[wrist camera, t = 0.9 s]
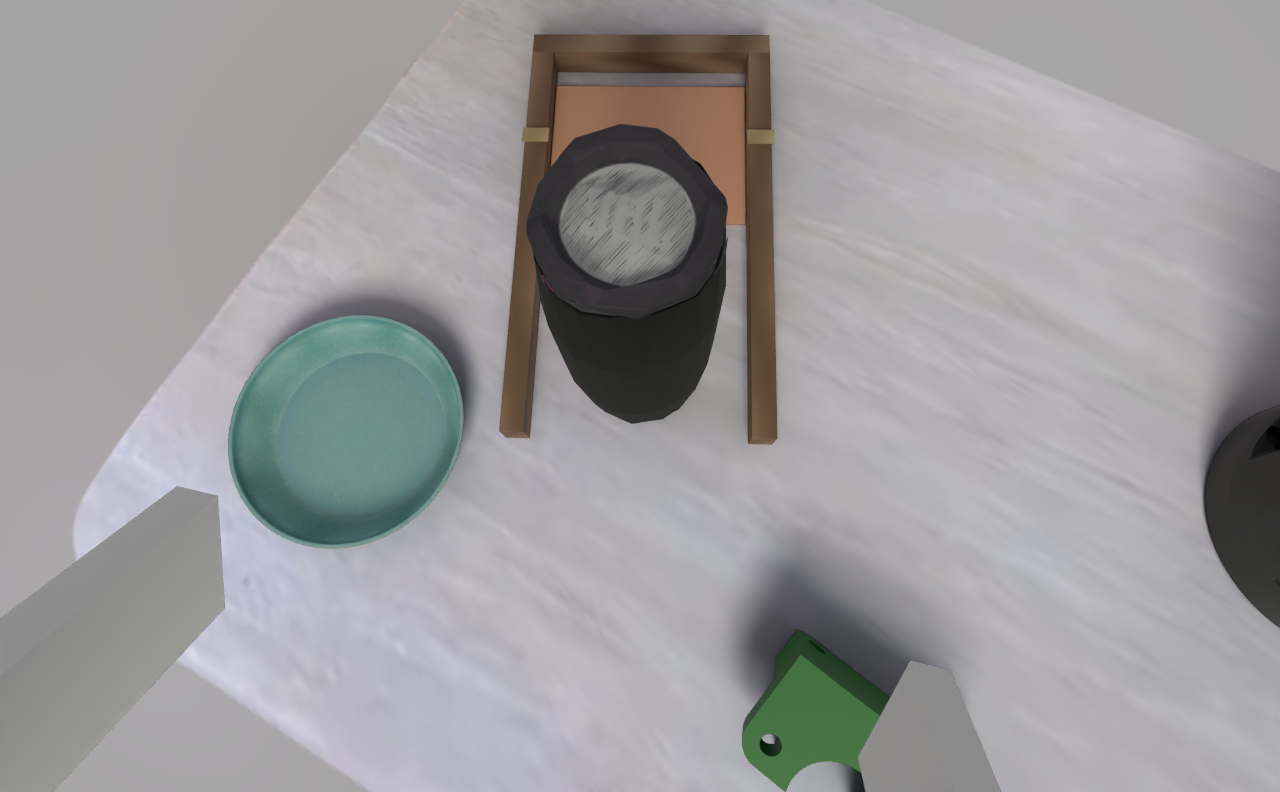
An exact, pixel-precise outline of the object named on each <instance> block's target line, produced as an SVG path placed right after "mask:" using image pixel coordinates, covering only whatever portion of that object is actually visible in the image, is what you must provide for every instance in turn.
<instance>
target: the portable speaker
mask: <svg viewBox="0 0 1280 792" xmlns="http://www.w3.org/2000/svg"><path fill="white" fill-rule="evenodd" d="M727 212H728V205H727V201H726V197H725V195H724V194H723V193H722V192H721V191H720V190H719V189H718V188H717V186H716V185H715V184H714V183H713V181H712V180H711V178H710V177H709V175H708V174H707V172H706V171H705V169H704V168H703V166H702V165H701V164H700V163H699V162H697V161H695V160H694V159H692V158H691V157H690V156H689V155H688V153H687V152H686V151H685V150H684V149H683V148H682V147H681V146H680V144H679V143H678V142H677V141H676V140H675V139H674V138H672V137H671V136H669V135H667V134H666V133H664V132H663V131H661V130H659V129H658V128H651V127H643V126H634V125H626V124H618V125H615V126H612V127H609V128H605V129H602V130H599V131H596V132H592V133H589V134H586V135H583V136H580V137H576V138H574V139H573V141H572V142H571V143H570V144H569V145H568V146H567V147H566V148H565V149H564V151H563V152H562V153H561V155H560V156H559V157H558V159H557V160H556V161H555V163H554V164H553V165H552V167H551V168H550V169H549V171H548V172H547V173H546V175H545V176H544V177H543V179H542V180H541V181H540V183H539V184H538V186H537V189H536V192H535V195H534V199H533V202H532V205H531V208H530V211H529V215H528V218H527V226H526V235H527V237H528V240H529V242H530V245H531V247H532V250H533V256H534V262H535V264H534V265H535V268H536V274H537V280H538V287H539V293H540V299H541V303H542V306H543V310H544V313H545V316H546V320H547V323H548V326H549V329H550V331H551V333H552V335H553V337H554V339H555V342H556V344H557V346H558V348H559V350H560V352H561V355H562V357H563V359H564V361H565V363H566V365H567V367H568V369H569V371H570V373H571V375H572V377H573V379H574V381H575V383H576V384H577V385H578V386H579V387H580V388H581V389H582V390H583V391H584V392H585V393H586V395H587V396H588V397H589V398H590V399H591V400H592V401H593V402H594V403H595V404H596V405H597V406H598V407H600V408H601V409H602V410H604V411H605V412H607V413H609V414H611V415H613V416H616V417H618V418H620V419H622V420H625V421H627V422H629V423H632V424H633V423H640V422H646V421H653V420H660V419H664V418H665V417H667V416H668V415H669V414H671V413H672V412H674V411H676V410H678V409H679V408H680V407H681V406H682V405H683V403H684V402H685V401H686V400H687V399H688V397H689V396H690V395H691V394H692V393H693V391H694V390H695V389H696V387H697V385H698V383H699V380H700V378H701V376H702V374H703V372H704V370H705V368H706V366H707V363H708V359H709V355H710V352H711V348H712V344H713V341H714V336H715V332H716V327H717V323H718V318H719V314H720V309H721V305H722V300H723V296H724V291H725V287H726V248H727V240H728V237H727V240H726V219H727ZM530 255H531V254H530ZM532 260H533V259H532Z"/></svg>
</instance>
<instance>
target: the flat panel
mask: <svg viewBox="0 0 1280 792" xmlns="http://www.w3.org/2000/svg"><path fill="white" fill-rule="evenodd" d="M618 124H626V125H634V126H643V127H651V128H658V129H659V130H661V131H663V132H664V133H666V134H667V135H669V136H671V137H672V138H674V139H675V140H676V141H677V142H678V143H679V144H680V146H681V147H682V148H683V149H684V150H685V151H686V152H687V153H688V155H689V156H690V157H691V158H692V159H694V160H695V161H697V162H699V163H700V164H701V165H702V166H703V168H704V169H705V171H706V172H707V174H708V175H709V177H710V178H711V180H712V181H713V183H714V184H715V185H716V186H717V188H718V189H719V190H720V191H721V192H722V193H723V194H724V195H725V197H726V201H727V205H728V212H727V219H726V224H745V101H744V87H635V86H557V95H556V108H555V121H554V134H553V147H552V160H551V167H552V165H553V164H554V163H555V161H556V160H557V159H558V157H559V156H560V155H561V153H562V152H563V151H564V149H565V148H566V147H567V146H568V145H569V144H570V143H571V142H572V141H573V139H574V138H576V137H580V136H583V135H586V134H589V133H592V132H596V131H599V130H602V129H605V128H609V127H612V126H615V125H618Z"/></svg>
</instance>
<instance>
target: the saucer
mask: <svg viewBox="0 0 1280 792" xmlns="http://www.w3.org/2000/svg"><path fill="white" fill-rule="evenodd" d="M463 424H464V410H463V401H462V395H461V391H460V387H459V384H458V381H457V378H456V375H455V374H454V371H453V370H452V368H451V366H450V364H449V362H448V361H447V359H446V357H445V356H444V355H443V353H442V352H441V351H440V350H439V348H437V347H436V346H435V344H434V343H433V342H432V341H431V340H429V339H428V338H427V337H426V336H425V335H423V334H422V333H420V332H419V331H417V330H416V329H414V328H412V327H410V326H408V325H406V324H404V323H402V322H399V321H396V320H393V319H389V318H385V317H380V316H373V315H348V316H341V317H337V318H332V319H327V320H324V321H321V322H318V323H316V324H313V325H311V326H309V327H307V328H304V329H302V330H300V331H298V332H297V333H296V334H293V335H291V336H290V337H289V338H287V339H286V340H285V341H283V342H281V343H280V344H279V345H278V346H277V347H275V348H274V349H273V350H272V351H271V352H270V353H269V354H268V355H267V356H266V357H265V358H264V359H263V360H262V361H261V362H260V364H259V365H258V366H257V367H256V368H255V370H254V371H253V372H252V374H251V376H250V377H249V379H248V380H247V381H246V383H245V385H244V387H243V389H242V391H241V393H240V395H239V398H238V400H237V402H236V405H235V407H234V410H233V415H232V418H231V424H230V428H229V438H228V456H229V464H230V469H231V474H232V477H233V480H234V482H235V485H236V488H237V490H238V492H239V494H240V496H241V498H242V500H243V502H244V503H245V504H246V506H247V507H248V509H249V510H250V511H251V512H252V514H253V515H254V516H255V517H256V518H257V519H258V520H259V521H260V522H261V523H262V524H263V525H264V526H266V527H267V528H269V529H270V530H271V531H273V532H274V533H276V534H278V535H280V536H282V537H283V538H286V539H288V540H290V541H293V542H295V543H298V544H301V545H306V546H310V547H316V548H347V547H354V546H359V545H363V544H367V543H370V542H373V541H376V540H378V539H381V538H383V537H385V536H387V535H389V534H391V533H393V532H395V531H397V530H398V529H400V528H402V527H403V526H405V525H406V524H408V523H409V522H410V521H412V520H413V519H414V518H415V517H416V516H418V515H419V514H420V513H421V512H422V511H423V510H424V509H425V508H426V507H427V506H428V505H429V504H430V503H431V502H432V500H433V499H434V498H435V497H436V496H437V494H438V493H439V492H440V490H441V489H442V487H443V486H444V484H445V482H446V481H447V479H448V477H449V475H450V473H451V471H452V469H453V467H454V464H455V462H456V459H457V456H458V453H459V449H460V445H461V441H462V435H463Z"/></svg>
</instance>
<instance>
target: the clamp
mask: <svg viewBox="0 0 1280 792" xmlns="http://www.w3.org/2000/svg"><path fill="white" fill-rule="evenodd" d="M775 674H776V678H775V679H774V681H773V682H772V683H771V685H770V686H769V687H768V689H767V690H766V691H765V693H764V694H763V695H762V697H761V698H760V699H759V701H758V702H757V703H756V705H755V706H754V707H753V709H752V710H751V711H750V713H749V714H748V715H747V717H746V719H745V721H744V724H743V733H742V747H743V751H744V754H745V756H746V758H747V759H748V761H749V762H750V763H751V764H752V765H753V766H754V767H755V768H757V769H758V770H759V771H760V772H762V773H763V774H764V775H765V776H766V777H768V778H769V779H770V780H771V781H772V782H774V783H775V784H776V785H777V786H779V787H780V788H781V789H782V790H783V791H785V792H786V790H787V787H788V785H789V783H790V781H791V780H792V778H793V777H794V776H795V775H796V774H797V773H798V772H799V771H800V770H802V769H803V768H805V767H806V766H808V765H810V764H813V763H817V762H822V761H833V762H839V763H843V764H846V765H848V766H850V767H852V768H854V769H856V770H857V771H859V772H860V773H861V769H860V765H859V760H858V756H859V754H860V753H861V751H862V749H863V747H864V745H865V743H866V742H867V740H868V738H869V736H870V734H871V732H872V730H873V729H874V727H875V725H876V723H877V721H878V719H879V717H880V716H881V714H882V712H883V710H884V708H885V706H886V705H887V703H888V701H889V699H890V697H889V696H888V695H886V694H885V693H884V692H883V691H881V690H880V689H879V688H877V687H876V686H875V685H873V684H872V683H871V682H869V681H868V680H867V679H866V678H864V677H863V676H862V675H860V674H859V673H858V672H856V671H855V670H854V669H853V668H851V667H850V666H849V665H847V664H846V663H845V662H843V661H842V660H841V659H840V658H838V657H837V656H836V655H834V654H833V653H832V652H830V651H829V650H828V649H826V648H825V647H824V646H823V645H821V644H820V643H819V642H817V641H816V640H815V639H813V638H812V637H811V636H809V635H808V634H806V633H804V632H803V631H800V630H796V632H795V633H794V634H793V636H792V637H791V638H790V640H789V641H788V642H787V644H786V645H785V646H784V648H783V649H782V650H781V652H780V653H779V654H778V656H777V657H776V658H775ZM766 734H774V735H776V736H777V737H778V738H779V739H778V740H777V742H776V743H775V744H768V743H766V742H764V741H763V740H762V739H761V738H762V737H763V736H764V735H766ZM862 792H866V791H865V787H864V789H863V791H862Z"/></svg>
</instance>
